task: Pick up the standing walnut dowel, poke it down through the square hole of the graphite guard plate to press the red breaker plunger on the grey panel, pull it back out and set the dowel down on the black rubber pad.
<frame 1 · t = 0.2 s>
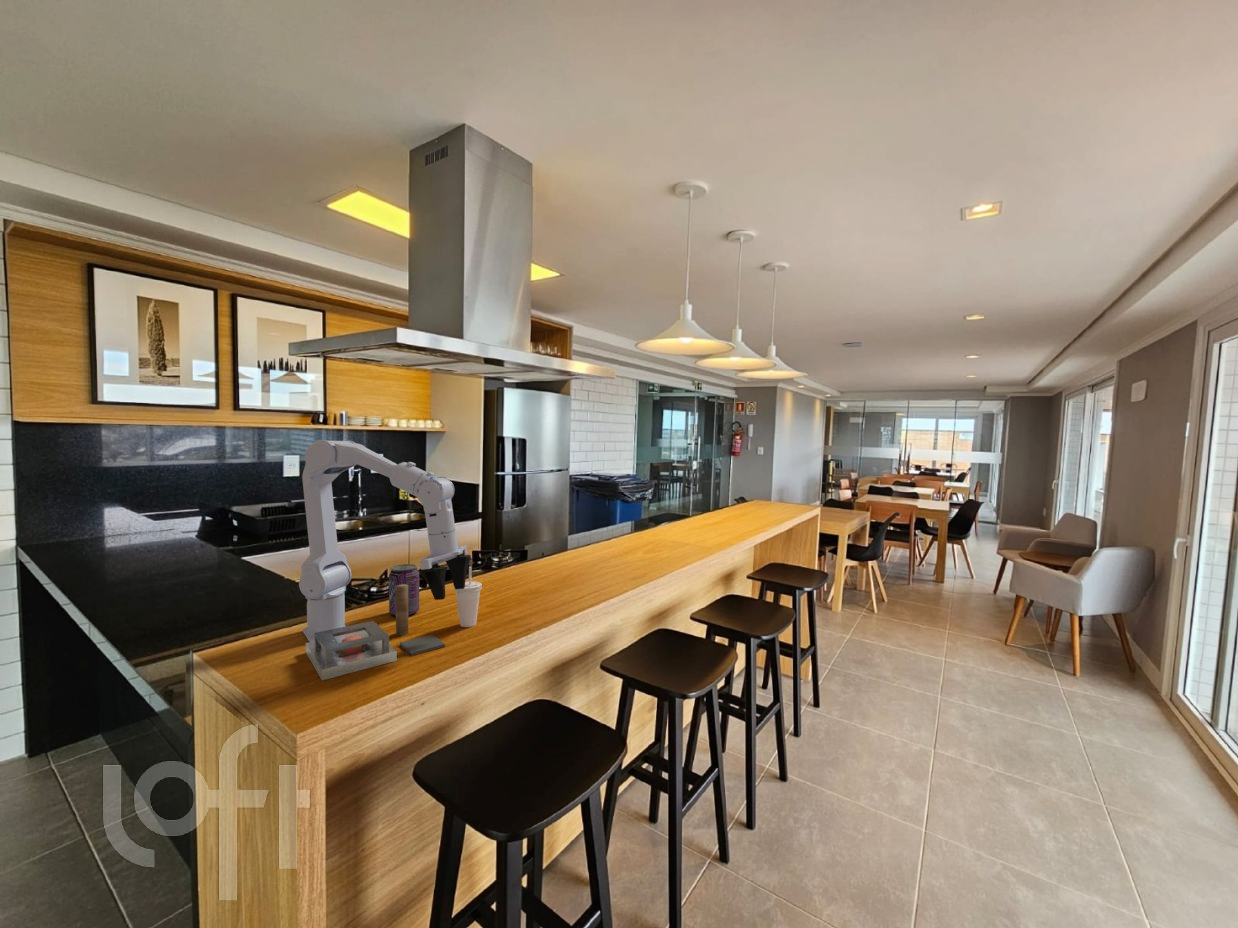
hand: (450, 593, 108), 11 cm above the countertop, tool pointing down, fingers open, 7 cm apart
beverage can: (404, 614, 127), on the countertop
smoothie: (468, 625, 119), on the countertop
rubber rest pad: (422, 646, 106), on the countertop
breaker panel: (350, 656, 100), on the countertop
breaker plunger: (352, 645, 99), point 3 cm above the countertop, slide at 0.0 cm
walnut dowel: (402, 633, 113), on the countertop
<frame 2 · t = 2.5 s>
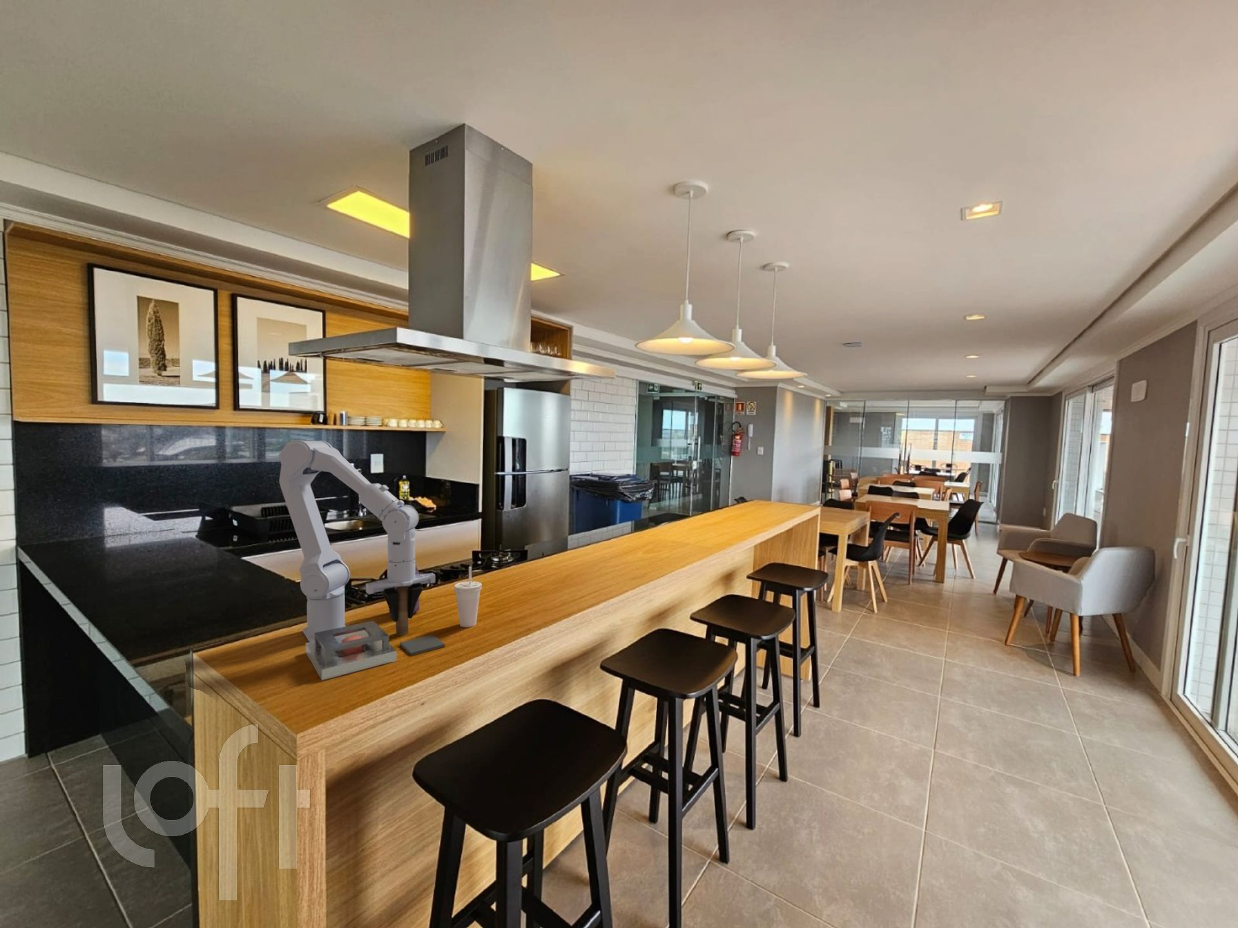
hand: (402, 618, 113), 3 cm above the countertop, tool pointing down, fingers closed on walnut dowel, 3 cm apart
walnut dowel: (402, 633, 113), on the countertop, touching gripper
everything else where it was.
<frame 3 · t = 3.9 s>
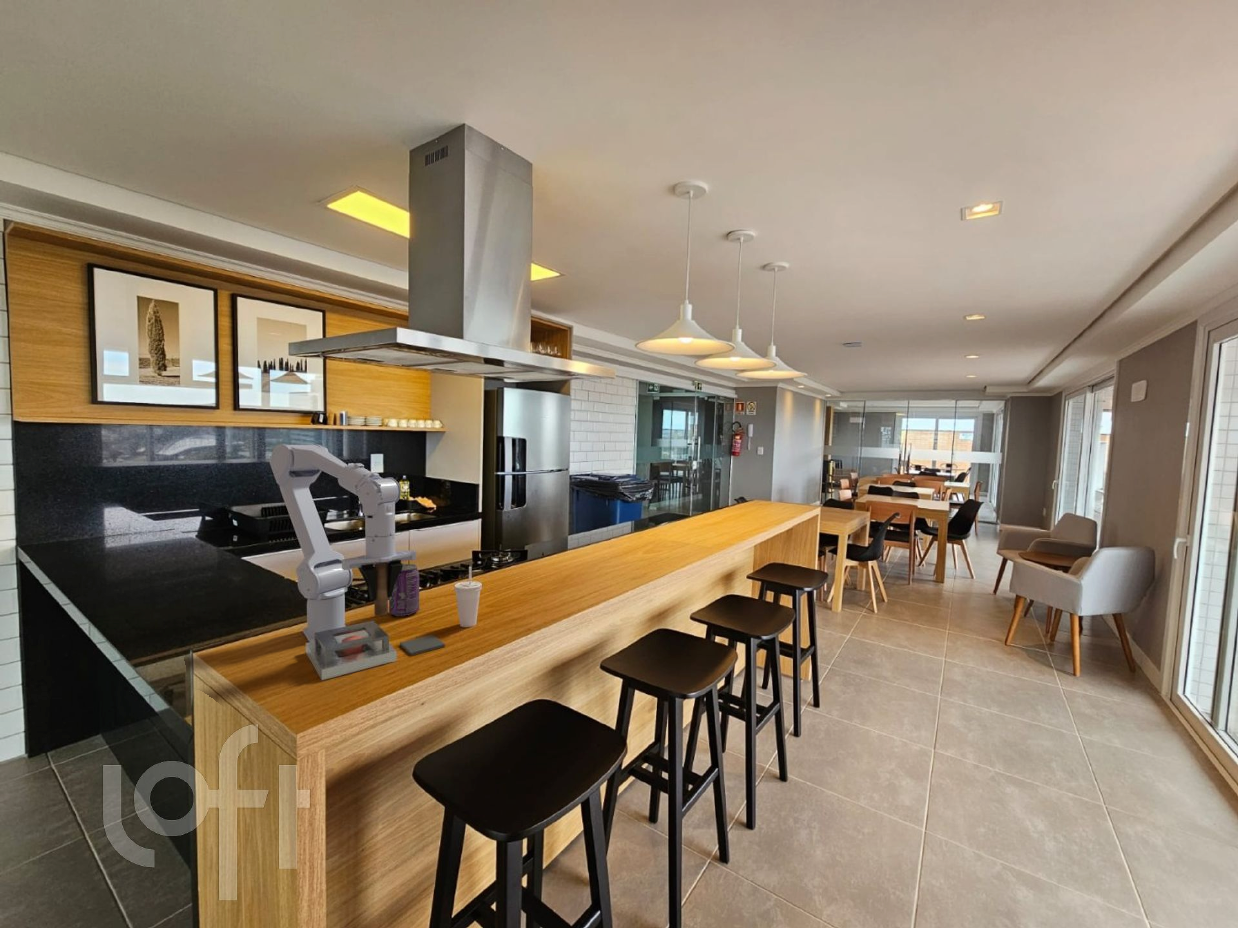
hand: (380, 597, 106), 10 cm above the countertop, tool pointing down, fingers closed on walnut dowel, 3 cm apart
walnut dowel: (381, 613, 107), point 7 cm above the countertop, touching gripper
everything else where it was.
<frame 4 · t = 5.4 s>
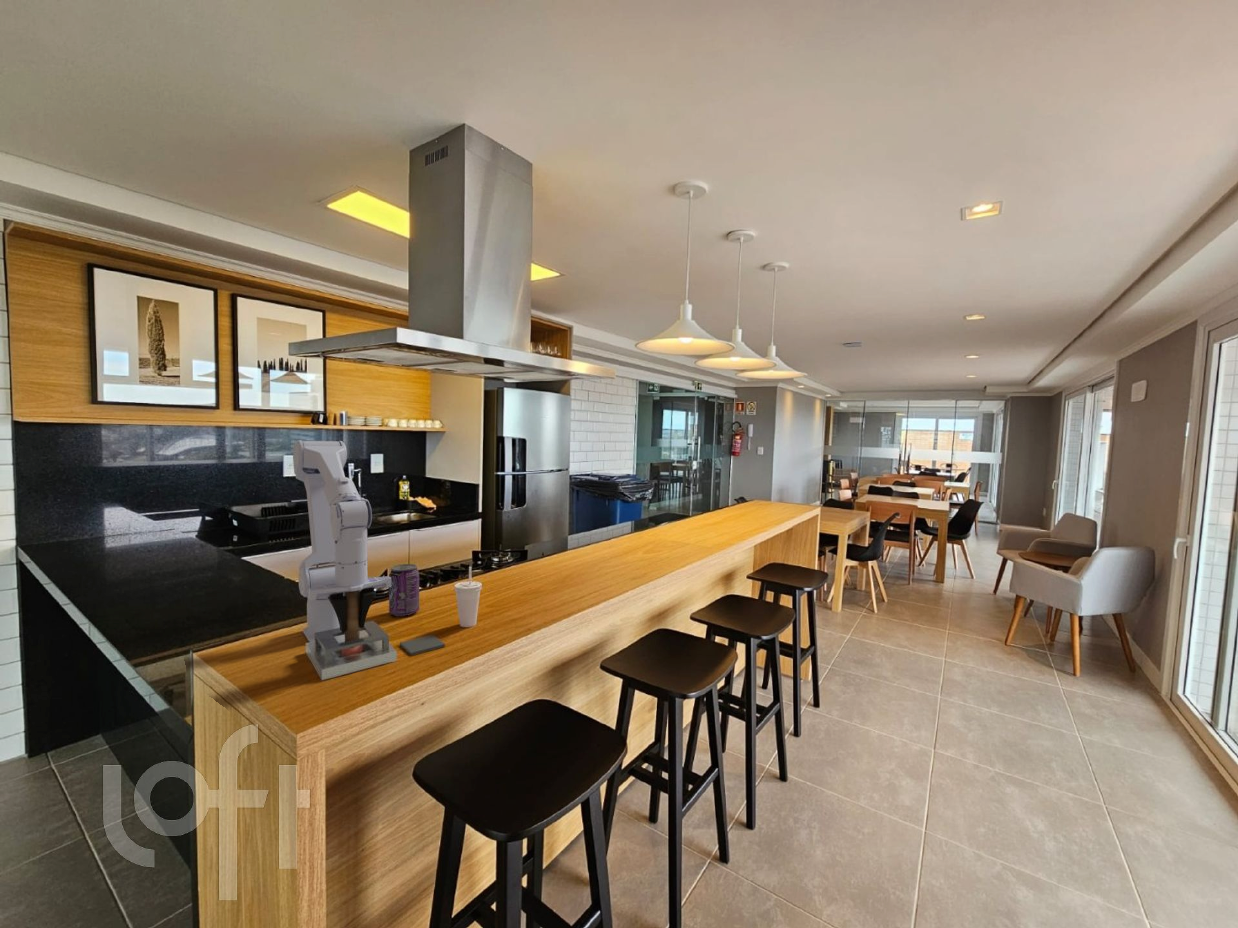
hand: (352, 628, 99), 6 cm above the countertop, tool pointing down, fingers closed on walnut dowel, 3 cm apart
breaker plunger: (352, 651, 99), point 2 cm above the countertop, slide at 1.2 cm, touching walnut dowel
walnut dowel: (352, 645, 99), point 3 cm above the countertop, touching breaker plunger, gripper
everything else where it was.
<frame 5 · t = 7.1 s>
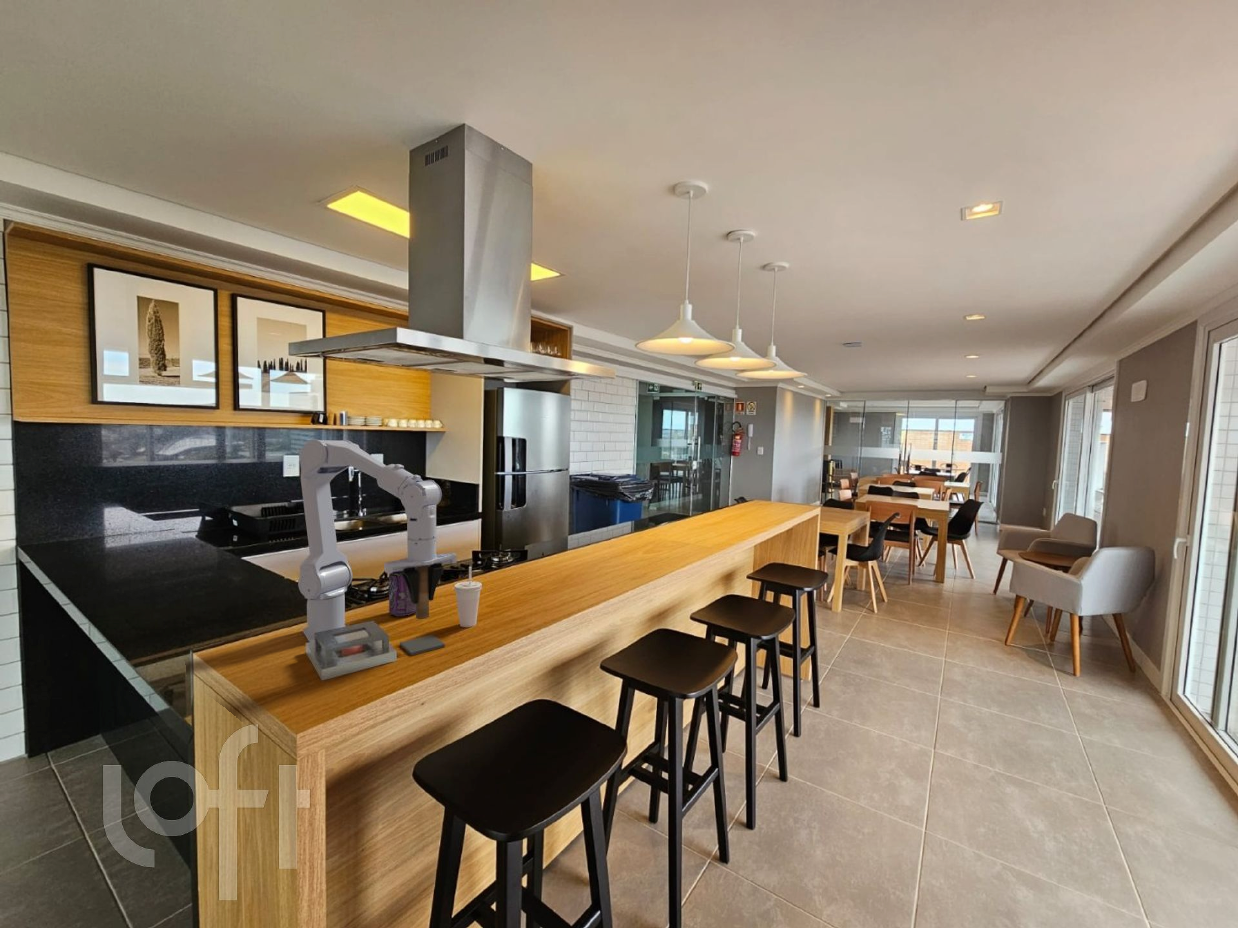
hand: (422, 601, 106), 10 cm above the countertop, tool pointing down, fingers closed on walnut dowel, 3 cm apart
breaker plunger: (352, 651, 99), point 2 cm above the countertop, slide at 1.2 cm
walnut dowel: (422, 616, 106), point 6 cm above the countertop, touching gripper
everything else where it was.
when the fingers open (5 cm above the countertop, at t = 8.7 s): walnut dowel stays where it is, resting on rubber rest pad.
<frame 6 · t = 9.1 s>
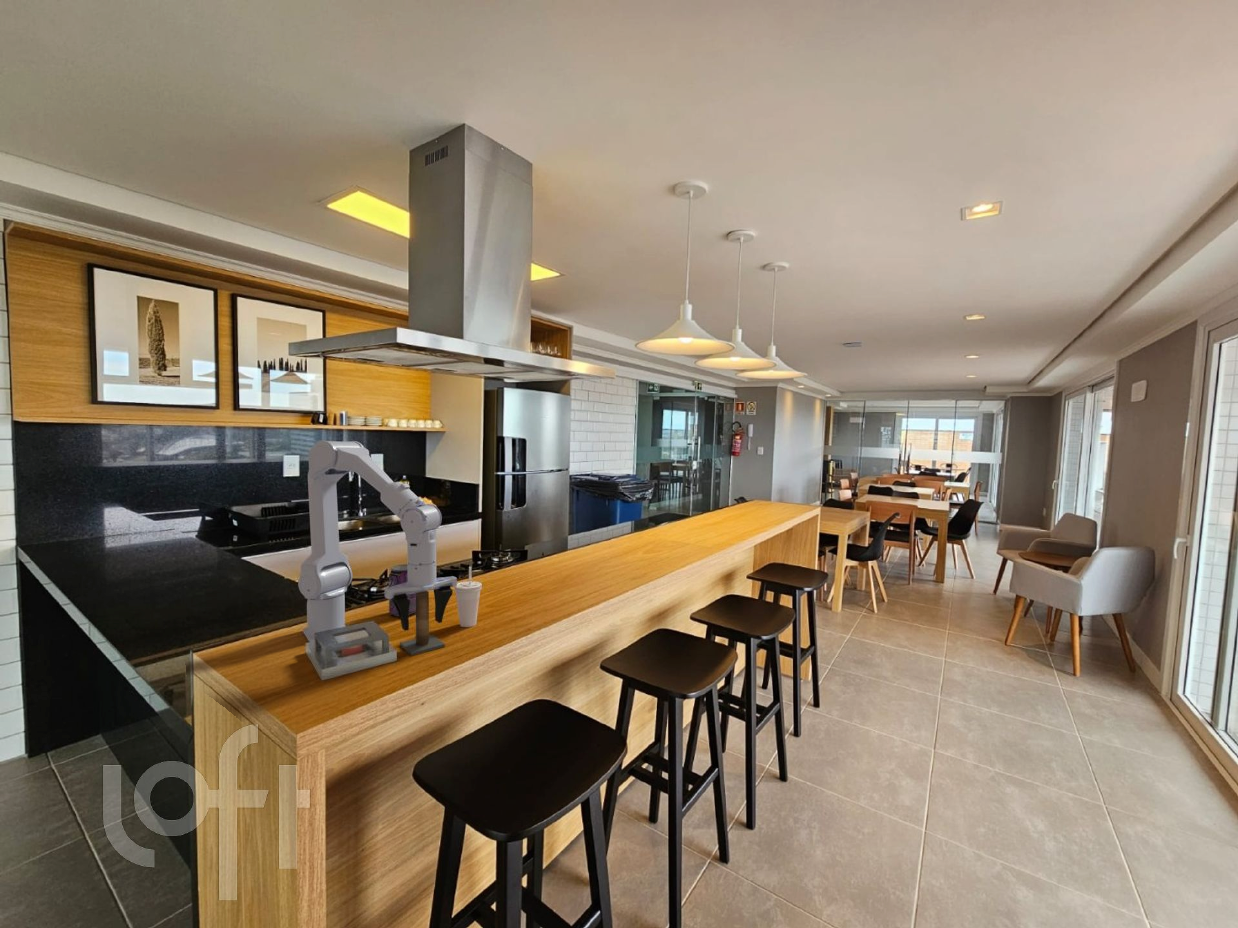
hand: (422, 625, 106), 5 cm above the countertop, tool pointing down, fingers open, 6 cm apart
walnut dowel: (422, 643, 106), point 1 cm above the countertop, touching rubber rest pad
everything else where it was.
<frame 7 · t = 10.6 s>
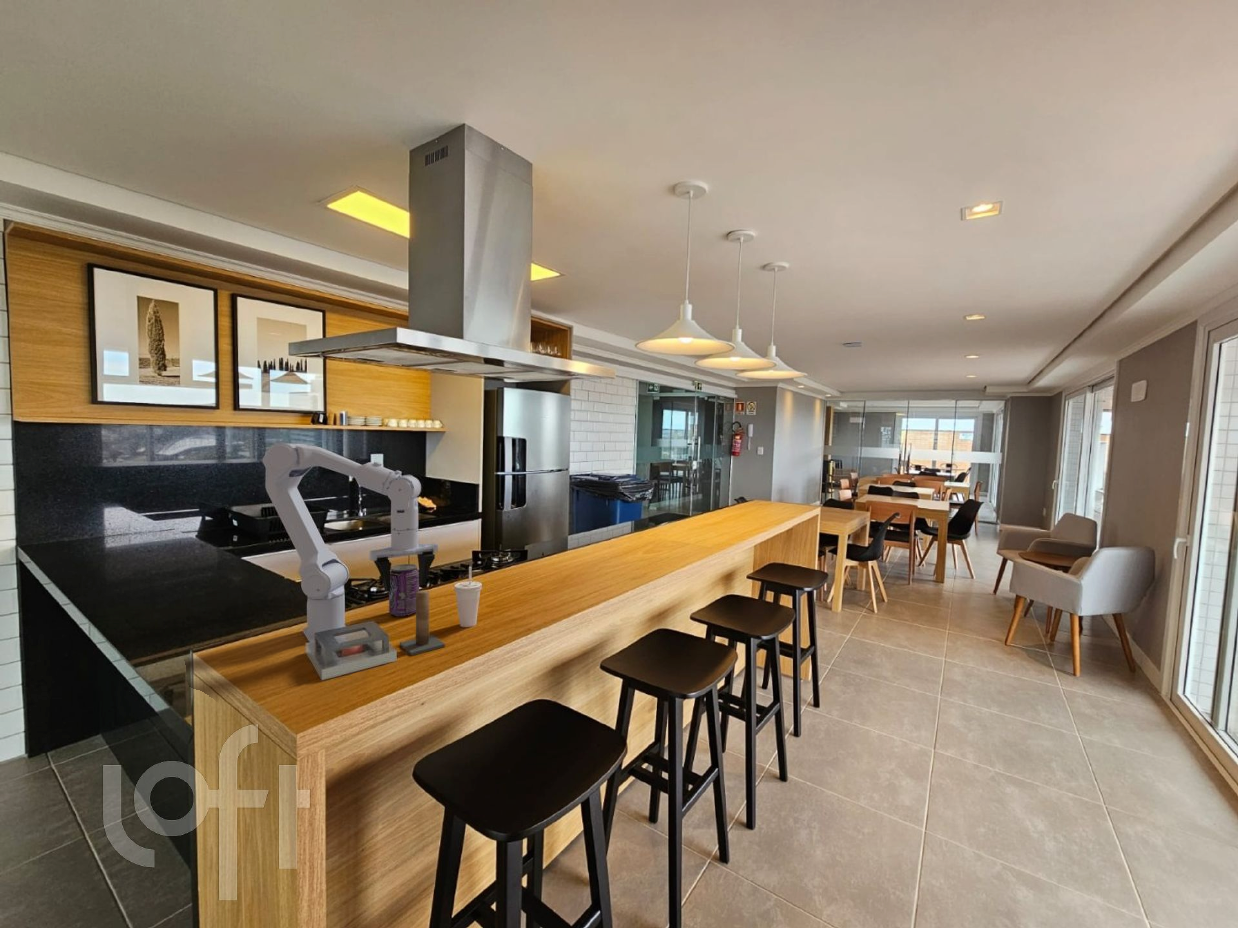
hand: (404, 587, 114), 10 cm above the countertop, tool pointing down, fingers open, 7 cm apart
nothing on the countertop moved.
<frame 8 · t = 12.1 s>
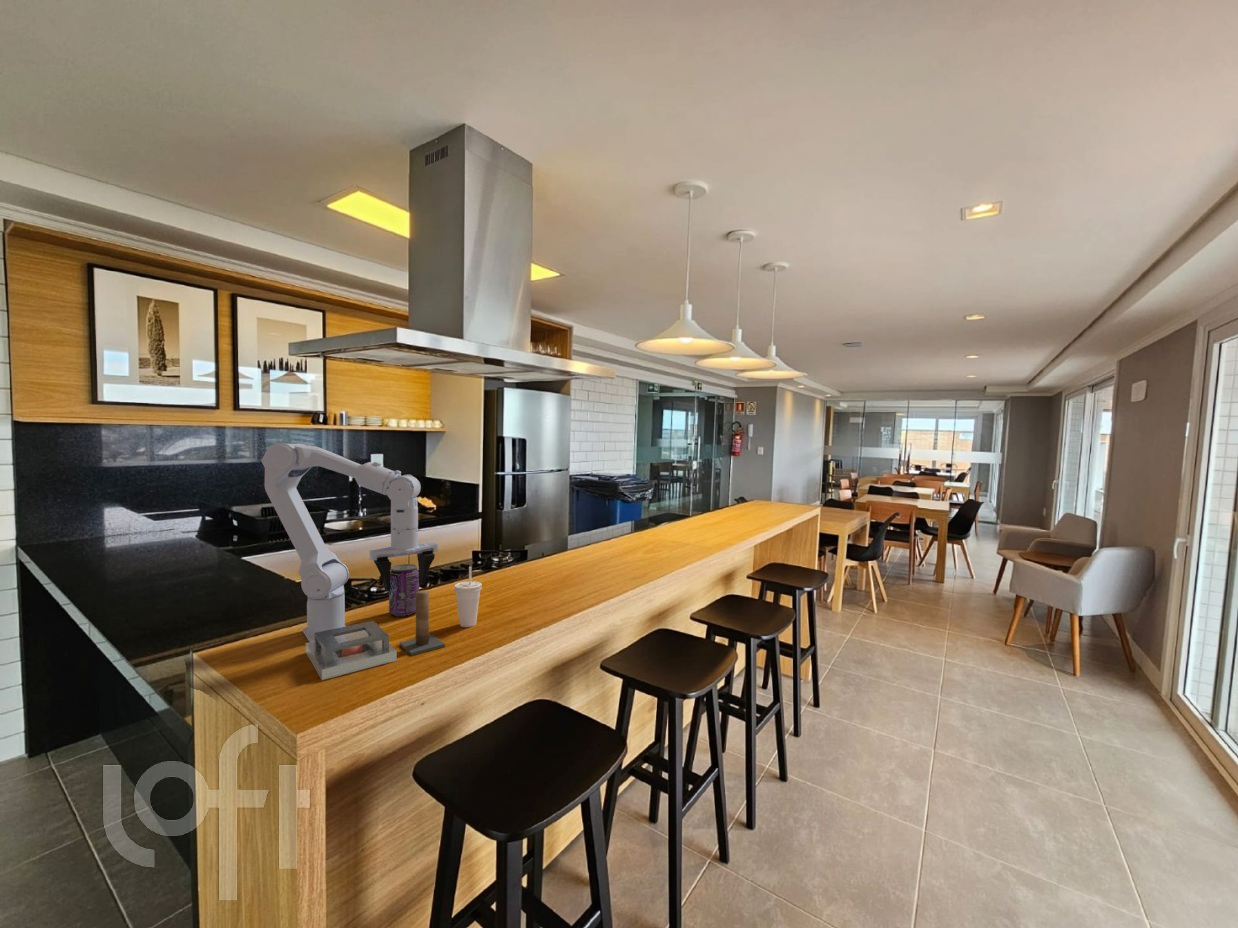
hand: (404, 586, 114), 10 cm above the countertop, tool pointing down, fingers open, 7 cm apart
nothing on the countertop moved.
at the end: breaker plunger slide at 1.2 cm; walnut dowel inside the target area on the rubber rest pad (0.1 cm from its centre), point 0.6 cm above the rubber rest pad's base; the gripper is holding nothing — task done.
